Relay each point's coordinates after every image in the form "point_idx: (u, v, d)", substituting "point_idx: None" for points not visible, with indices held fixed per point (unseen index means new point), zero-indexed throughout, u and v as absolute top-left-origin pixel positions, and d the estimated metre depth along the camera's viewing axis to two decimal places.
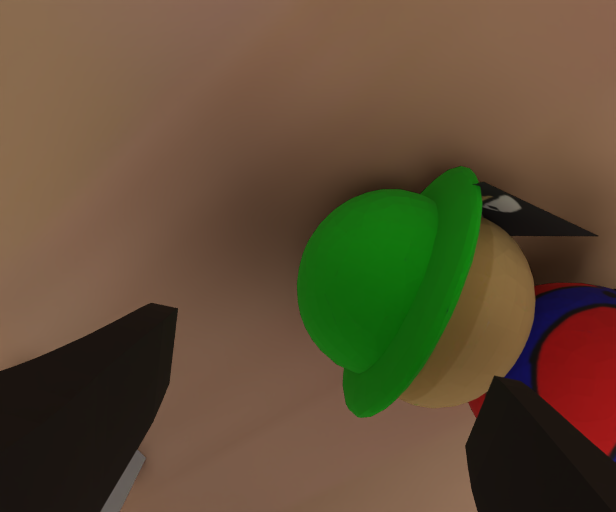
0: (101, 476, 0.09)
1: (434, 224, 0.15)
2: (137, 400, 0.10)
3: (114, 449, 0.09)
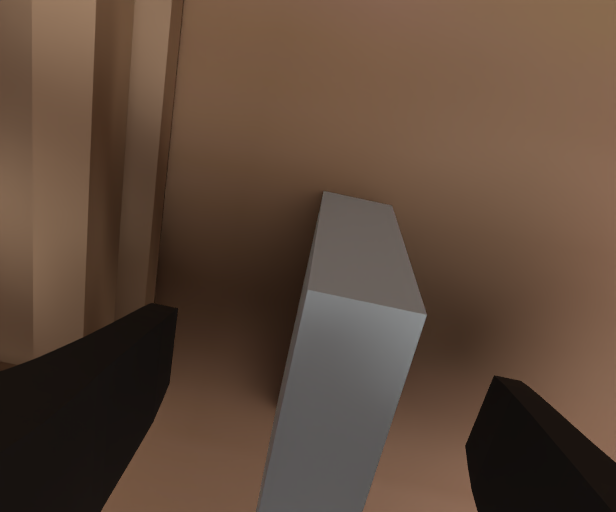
0: (101, 476, 0.09)
1: None
2: (137, 400, 0.10)
3: (114, 449, 0.09)
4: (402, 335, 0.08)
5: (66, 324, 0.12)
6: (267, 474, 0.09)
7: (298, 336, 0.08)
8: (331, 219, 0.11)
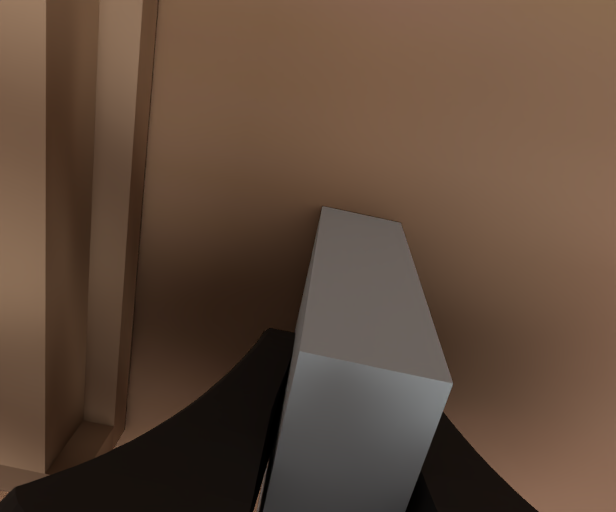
0: (250, 507, 0.09)
1: None
2: (273, 429, 0.10)
3: (258, 479, 0.09)
4: (421, 408, 0.06)
5: (25, 361, 0.10)
6: None
7: (288, 407, 0.06)
8: (331, 244, 0.09)
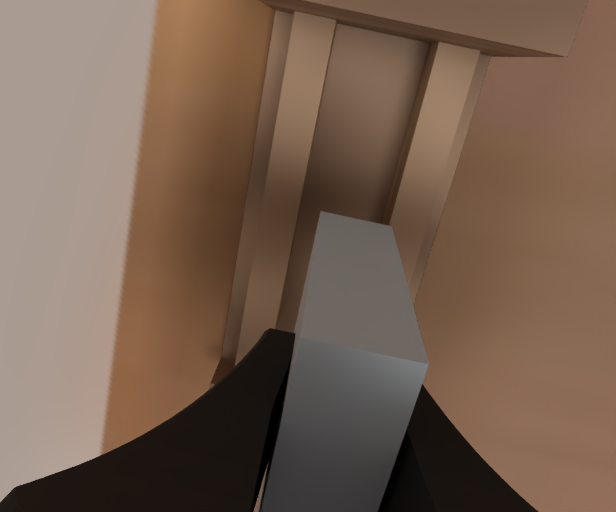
0: (251, 507, 0.09)
1: None
2: (273, 428, 0.10)
3: (259, 479, 0.09)
4: (402, 385, 0.07)
5: None
6: None
7: (290, 385, 0.07)
8: (328, 247, 0.10)
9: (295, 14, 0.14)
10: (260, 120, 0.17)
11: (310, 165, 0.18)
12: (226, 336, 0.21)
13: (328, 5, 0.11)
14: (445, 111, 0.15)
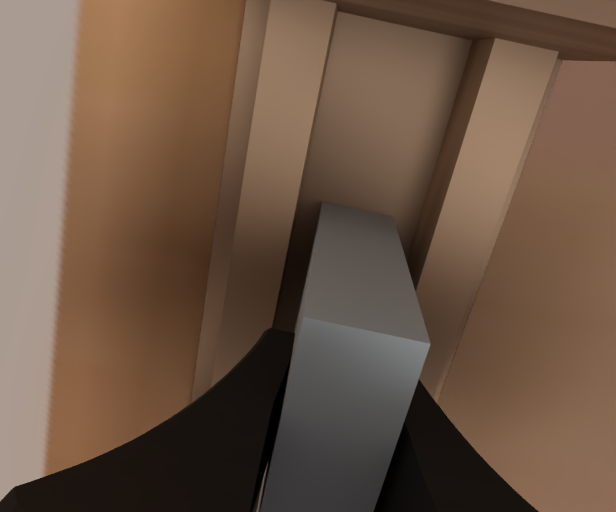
0: (250, 507, 0.09)
1: None
2: (273, 428, 0.10)
3: (258, 479, 0.09)
4: (404, 365, 0.07)
5: None
6: (261, 506, 0.08)
7: (293, 365, 0.07)
8: (329, 234, 0.10)
9: None
10: (228, 149, 0.12)
11: (299, 211, 0.13)
12: None
13: None
14: (500, 143, 0.10)
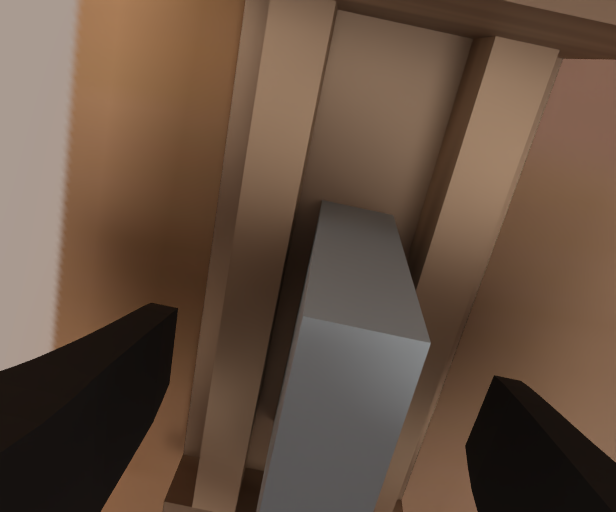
0: (101, 476, 0.09)
1: None
2: (137, 400, 0.10)
3: (114, 449, 0.09)
4: (404, 364, 0.07)
5: (393, 464, 0.13)
6: (261, 506, 0.08)
7: (293, 364, 0.07)
8: (330, 233, 0.10)
9: None
10: (228, 148, 0.12)
11: (299, 210, 0.13)
12: (189, 429, 0.15)
13: None
14: (501, 141, 0.10)
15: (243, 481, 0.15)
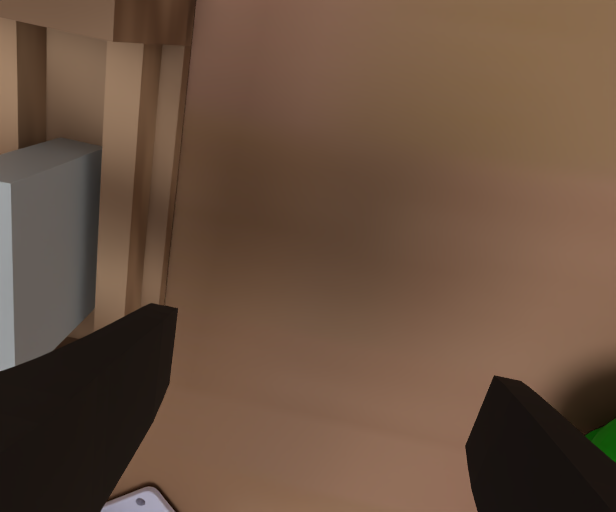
0: (101, 476, 0.09)
1: None
2: (137, 400, 0.10)
3: (114, 449, 0.09)
4: (1, 196, 0.14)
5: (114, 311, 0.20)
6: None
7: None
8: (31, 149, 0.17)
9: None
10: None
11: None
12: None
13: None
14: (126, 93, 0.17)
15: None
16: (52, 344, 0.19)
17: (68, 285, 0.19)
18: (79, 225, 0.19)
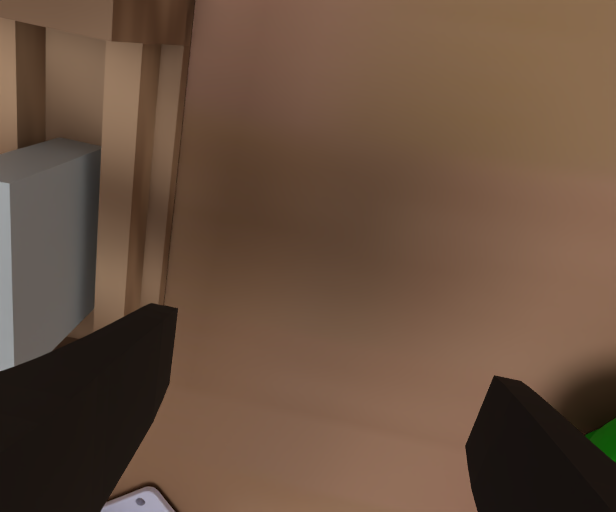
0: (101, 476, 0.09)
1: None
2: (137, 400, 0.10)
3: (114, 449, 0.09)
4: (0, 196, 0.14)
5: (113, 311, 0.20)
6: None
7: None
8: (31, 149, 0.17)
9: None
10: None
11: None
12: None
13: None
14: (125, 93, 0.17)
15: None
16: (52, 344, 0.19)
17: (67, 285, 0.19)
18: (78, 225, 0.19)
